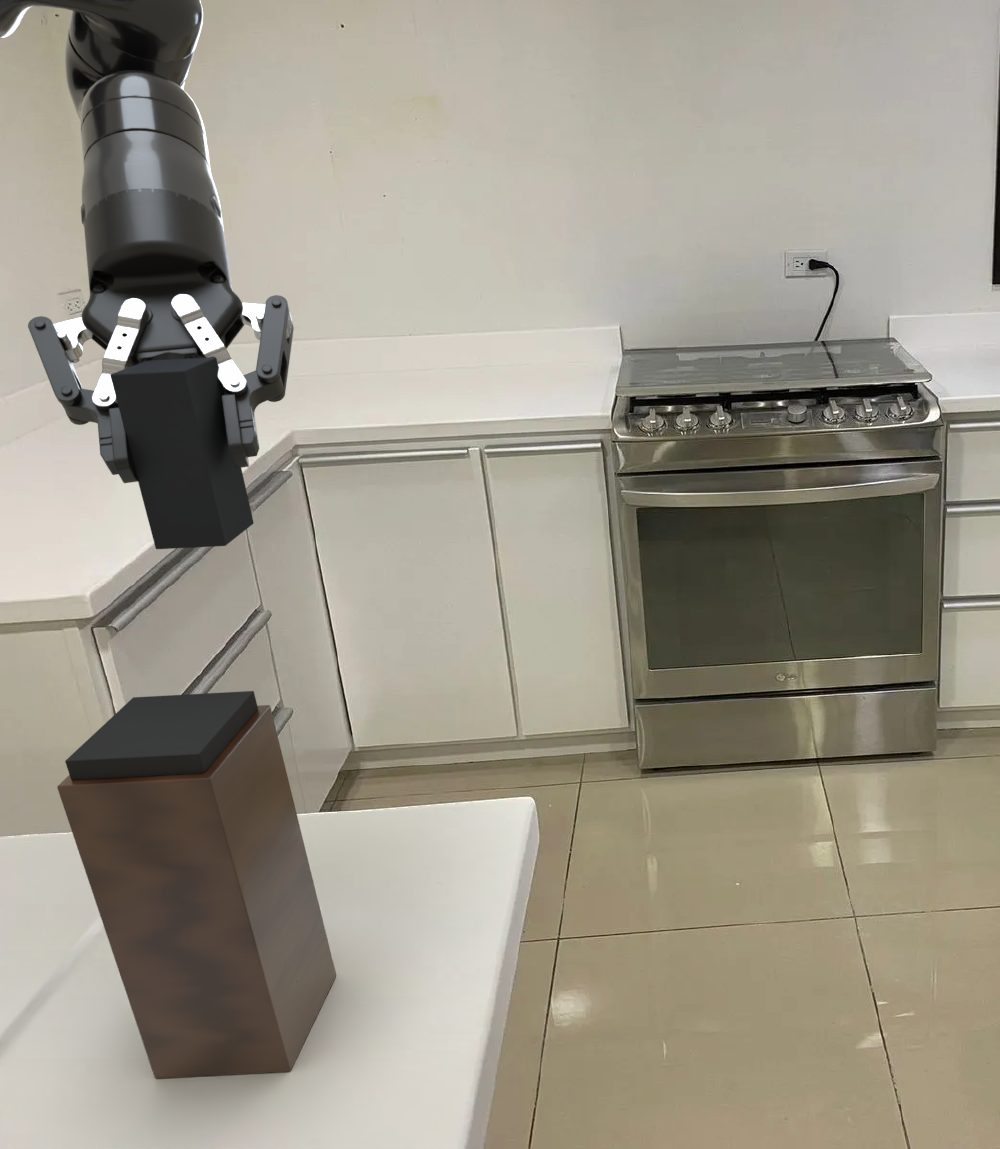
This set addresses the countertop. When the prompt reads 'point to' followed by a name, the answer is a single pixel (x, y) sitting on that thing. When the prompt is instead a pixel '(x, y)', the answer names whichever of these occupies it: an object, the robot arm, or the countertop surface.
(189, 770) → the rubber pad
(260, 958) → the block
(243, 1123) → the countertop surface
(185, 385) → the foam block
